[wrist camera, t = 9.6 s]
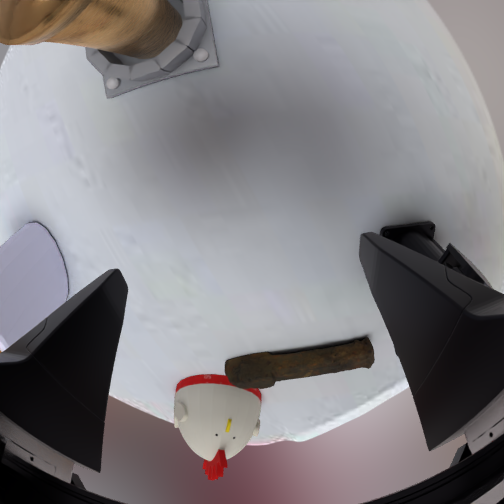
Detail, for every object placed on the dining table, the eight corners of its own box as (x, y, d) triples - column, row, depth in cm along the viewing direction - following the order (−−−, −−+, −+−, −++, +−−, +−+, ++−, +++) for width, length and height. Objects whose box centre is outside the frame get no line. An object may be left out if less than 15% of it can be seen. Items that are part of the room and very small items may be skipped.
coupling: (192, 1, 12) (123, -88, 1) (176, 62, 15) (71, 26, 4) (127, 4, 12) (19, -45, 1) (112, 62, 15) (-18, 58, 4)
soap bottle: (75, 314, 30) (16, 443, 12) (32, 295, 28) (-32, 406, 11) (63, 228, 23) (-53, 381, 6) (15, 213, 22) (-94, 331, 4)
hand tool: (370, 331, 32) (380, 358, 28) (364, 349, 34) (372, 376, 30) (222, 345, 32) (219, 376, 28) (227, 363, 34) (225, 392, 31)
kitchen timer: (276, 386, 38) (282, 476, 25) (240, 416, 44) (239, 487, 31) (188, 364, 34) (173, 464, 22) (168, 399, 41) (156, 474, 28)
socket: (202, -25, 11) (195, -42, 9) (218, 66, 16) (213, 60, 13) (99, 11, 12) (79, 4, 9) (111, 98, 17) (90, 100, 14)
